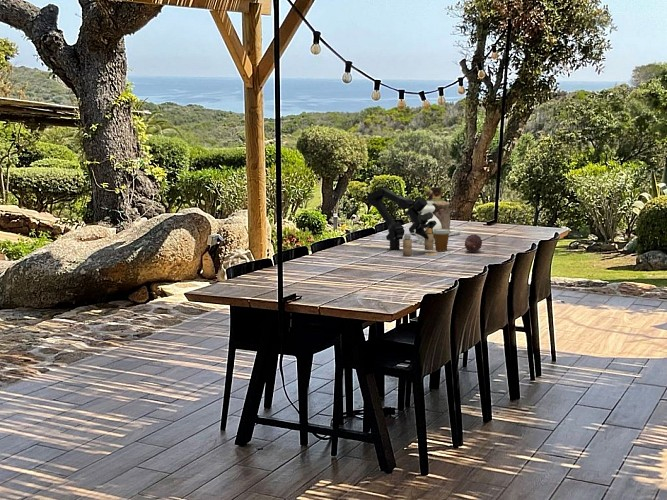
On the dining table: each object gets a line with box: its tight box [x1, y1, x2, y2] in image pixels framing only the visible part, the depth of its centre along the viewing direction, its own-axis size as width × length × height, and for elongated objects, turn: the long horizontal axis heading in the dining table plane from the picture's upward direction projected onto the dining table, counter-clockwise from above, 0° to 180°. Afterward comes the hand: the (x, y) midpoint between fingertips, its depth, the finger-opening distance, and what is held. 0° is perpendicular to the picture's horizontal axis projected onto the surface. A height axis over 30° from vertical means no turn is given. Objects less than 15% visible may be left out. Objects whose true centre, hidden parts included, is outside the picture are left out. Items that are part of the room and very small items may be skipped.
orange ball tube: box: [424, 228, 434, 251], centre depth 480 cm, size 5×5×12 cm
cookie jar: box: [410, 185, 462, 237], centre depth 561 cm, size 25×25×32 cm
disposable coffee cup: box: [433, 229, 450, 252], centre depth 497 cm, size 10×10×12 cm
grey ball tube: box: [402, 233, 413, 258], centre depth 473 cm, size 5×5×12 cm
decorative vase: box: [413, 200, 442, 245], centre depth 526 cm, size 18×18×25 cm
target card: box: [400, 252, 438, 258], centre depth 477 cm, size 11×22×1 cm, turn 114°
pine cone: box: [464, 234, 483, 253], centre depth 492 cm, size 18×10×10 cm, turn 164°
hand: (431, 238), depth 479 cm, fingers closed on orange ball tube, 5 cm apart
